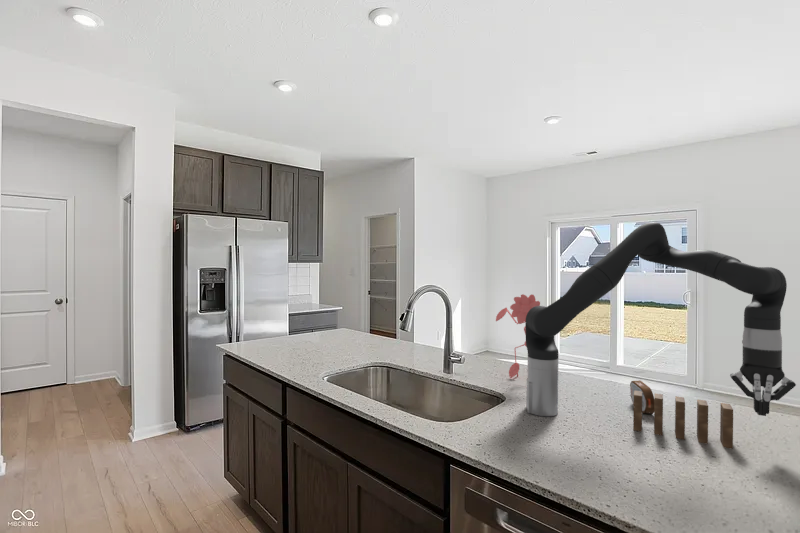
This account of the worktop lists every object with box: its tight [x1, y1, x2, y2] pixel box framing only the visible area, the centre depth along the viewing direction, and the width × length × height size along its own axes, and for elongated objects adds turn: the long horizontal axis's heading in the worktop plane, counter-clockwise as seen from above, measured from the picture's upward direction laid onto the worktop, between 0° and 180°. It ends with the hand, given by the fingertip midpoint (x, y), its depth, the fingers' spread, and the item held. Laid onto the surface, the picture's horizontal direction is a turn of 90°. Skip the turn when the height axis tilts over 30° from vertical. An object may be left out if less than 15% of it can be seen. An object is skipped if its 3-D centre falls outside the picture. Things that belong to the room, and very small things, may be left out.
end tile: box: [719, 402, 734, 450], centre depth 109 cm, size 2×5×10 cm, turn 149°
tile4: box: [696, 399, 709, 445], centre depth 112 cm, size 2×5×10 cm, turn 148°
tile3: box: [674, 396, 686, 441], centre depth 114 cm, size 2×5×10 cm, turn 149°
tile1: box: [632, 390, 643, 433], centre depth 120 cm, size 2×5×10 cm, turn 149°
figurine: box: [495, 293, 541, 379], centre depth 167 cm, size 15×26×35 cm, turn 61°
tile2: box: [653, 392, 664, 437], centre depth 117 cm, size 2×5×10 cm, turn 149°
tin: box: [629, 380, 654, 415], centre depth 136 cm, size 15×3×8 cm, turn 168°
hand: (761, 414), depth 106 cm, fingers closed
